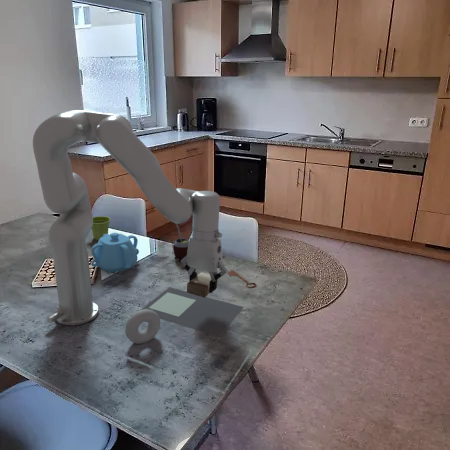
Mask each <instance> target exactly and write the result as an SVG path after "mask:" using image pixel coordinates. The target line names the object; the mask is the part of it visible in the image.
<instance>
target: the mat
mask: <svg viewBox="0 0 450 450" xmlns="http://www.w3.org/2000/svg"><path fill="white" fill-rule="evenodd" d="M244 308H245V307H244V306H241V305H237V304H234V303H230V302H227V301H222V300H218V299H214V298H212V297H208V296H206V297H205V298H204V297H200V296H197V295H194V294H190V293H187V290H186V291H185V290H181V289H178V288H174V287H172V286H171V287H170V286H169V287H168V288H166V289H165V290H164V291H162V292H161V293H160V294H159V295H157V296H156V297H155V298H154V299H152V300H151V301H150V302H149V303H148V304H146V305H145V306H144V307H142V309H140V310H143V309H149V310H153V311H154V312H156V313H157V315H158V316H159V318H160V320H163V321H167V322H169V323H173V324H175V325H178V326H183V327H184V328H189V329H192V330H195V331H199V332H202V333H204V334H209V335H212V336H215V337H217V338H220V337H221V335H223V333H224V332H225V331H226V330H227V329H228V328H229V326H230V325H232V323H233V321H234V320H235V319H236V318H237V317H238V316H239V314H240V312H241V311H242V310H243V309H244Z"/></svg>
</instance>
